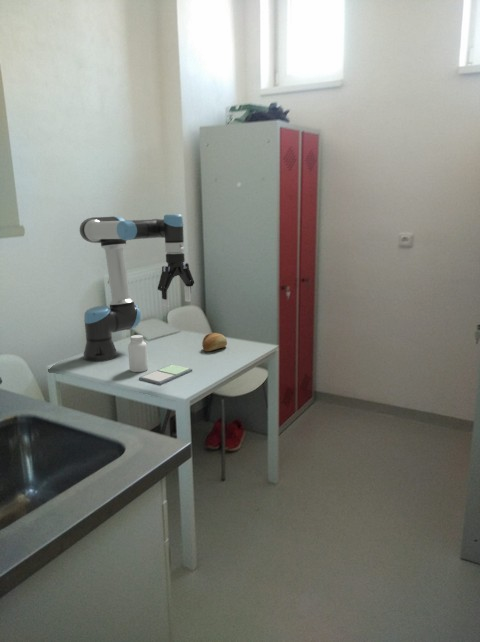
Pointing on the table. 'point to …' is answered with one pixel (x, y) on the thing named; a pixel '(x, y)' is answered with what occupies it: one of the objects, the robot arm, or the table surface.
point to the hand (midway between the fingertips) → (177, 304)
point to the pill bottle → (137, 354)
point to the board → (165, 374)
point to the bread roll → (214, 341)
